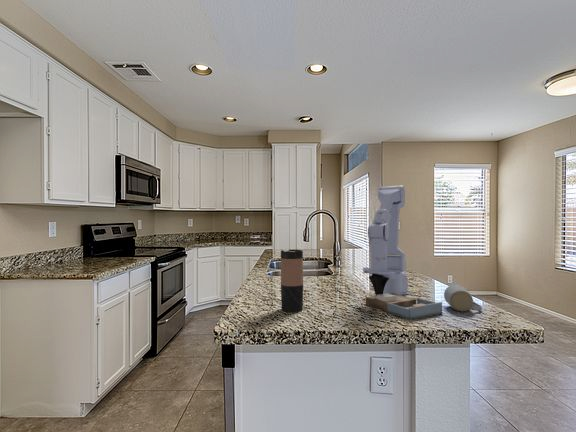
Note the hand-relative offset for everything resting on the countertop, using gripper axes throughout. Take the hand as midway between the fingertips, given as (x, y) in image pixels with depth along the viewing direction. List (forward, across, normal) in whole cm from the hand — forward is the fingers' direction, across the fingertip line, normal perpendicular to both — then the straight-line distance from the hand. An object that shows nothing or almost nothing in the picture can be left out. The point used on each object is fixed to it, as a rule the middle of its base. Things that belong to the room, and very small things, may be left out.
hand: (379, 296), depth 116 cm
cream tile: (0, +4, 0) cm, 4 cm away
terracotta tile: (+2, +14, +6) cm, 15 cm away
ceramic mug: (+3, +18, +20) cm, 27 cm away
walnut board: (+3, +2, +3) cm, 5 cm away
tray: (+3, +13, +3) cm, 14 cm away
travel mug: (+3, -10, -30) cm, 32 cm away
